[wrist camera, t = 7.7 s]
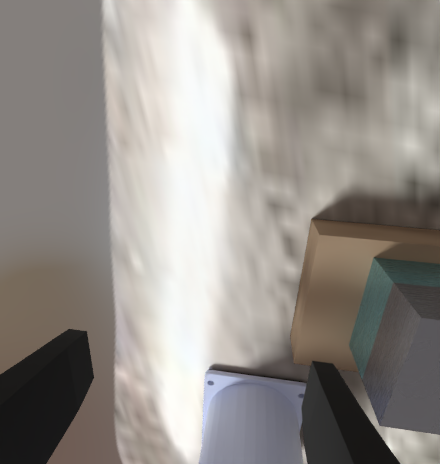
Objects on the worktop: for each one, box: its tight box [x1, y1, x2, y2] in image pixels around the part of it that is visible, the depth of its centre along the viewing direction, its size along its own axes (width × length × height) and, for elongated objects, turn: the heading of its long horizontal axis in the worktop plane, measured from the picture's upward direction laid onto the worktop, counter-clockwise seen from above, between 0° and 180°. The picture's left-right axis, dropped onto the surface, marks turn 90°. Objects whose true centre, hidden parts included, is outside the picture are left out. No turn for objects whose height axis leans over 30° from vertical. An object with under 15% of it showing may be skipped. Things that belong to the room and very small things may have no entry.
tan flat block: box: [290, 219, 440, 372], centre depth 18 cm, size 9×10×2 cm
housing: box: [349, 257, 440, 435], centre depth 14 cm, size 6×4×5 cm, turn 177°
